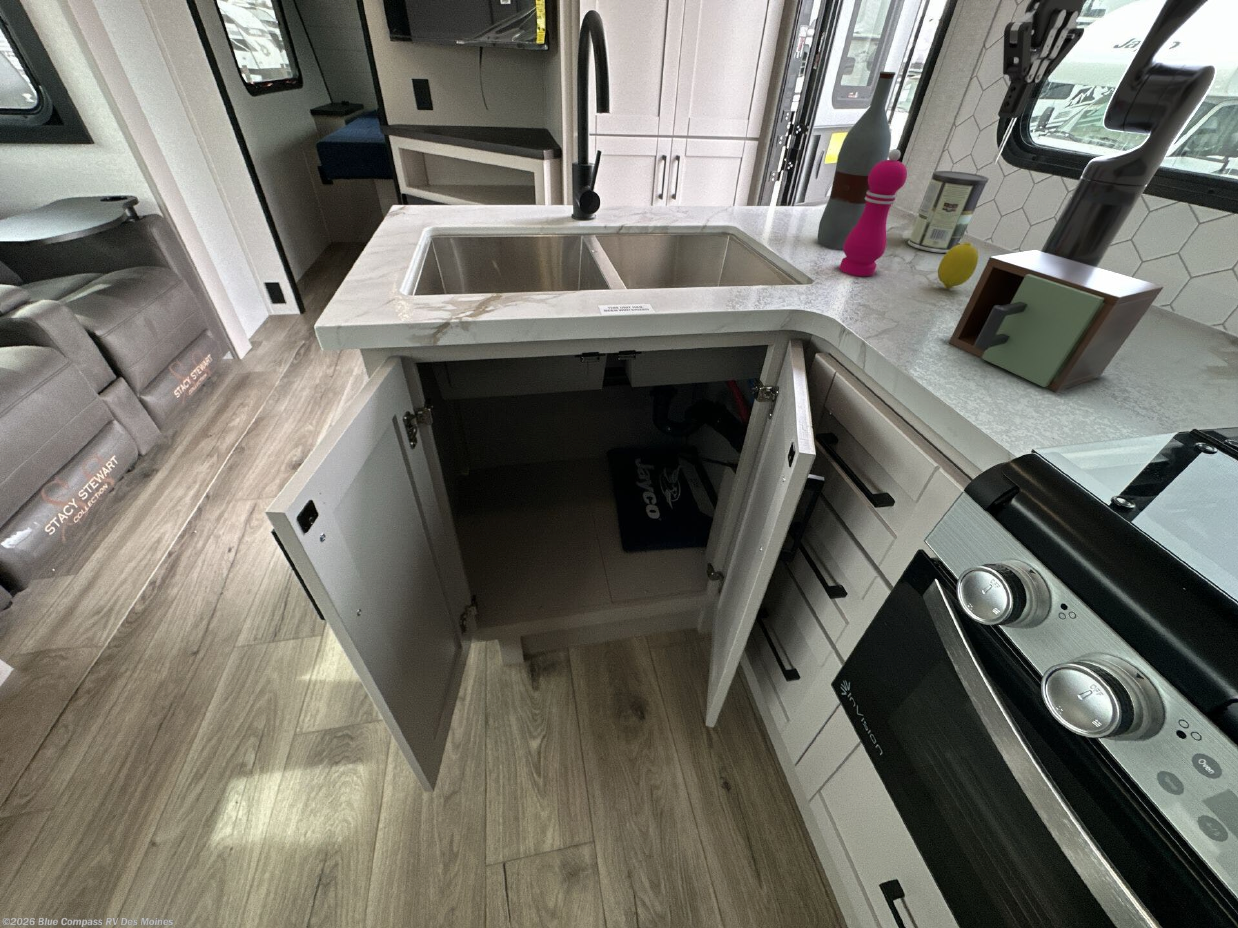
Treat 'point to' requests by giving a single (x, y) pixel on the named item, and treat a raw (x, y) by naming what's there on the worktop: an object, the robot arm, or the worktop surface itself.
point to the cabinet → (1120, 291)
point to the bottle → (856, 168)
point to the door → (1037, 328)
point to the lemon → (958, 265)
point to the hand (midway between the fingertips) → (1008, 117)
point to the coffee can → (946, 210)
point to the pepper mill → (874, 218)
